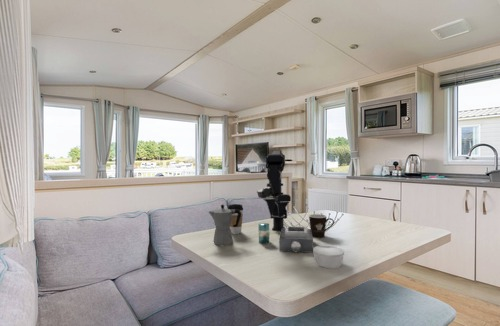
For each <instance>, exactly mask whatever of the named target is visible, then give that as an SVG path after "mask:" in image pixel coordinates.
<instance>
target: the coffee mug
mask: <svg viewBox="0 0 500 326" xmlns="http://www.w3.org/2000/svg"><path fill="white" fill-rule="evenodd" d="M308 220H309V227H310V229H311V231H312V237H313V238H319V239H321V238H325V233H326V231H327V230H329V229H330V228H331V227H333V225H334V224H335V221H334V219H332V218H330V217H329V218H327V215H326V214H325V215H324V214H321V213H320V214H319V213H318V214H317V213H316V214H309V215H308ZM329 220H331V221H332V223H331V225H329V226H328V227H326V225H327V223H328V221H329Z"/></svg>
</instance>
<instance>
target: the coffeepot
mask: <svg viewBox="0 0 500 326" xmlns="http://www.w3.org/2000/svg"><path fill="white" fill-rule="evenodd" d="M220 207H221V208H217V209H215V210H211V211H208V214H209V215H210V216H211V217H212V219H213V222H214V223H213V224H214V226H215V229H214V236H213V241H212V242H214V243H215V244H217V245H216V246H220V245H224V246H229V245H232V244H233V242H234V241H233V234H232V233H231V229H230V225H231V219H232V214H235V213H237V214H238V215H237V220H236V224H235V225H233V227H237V226H238V223H239V220H240V217H241V212H240V211H239V210H238V209H235V210H230V209H228V208H225V204H221V205H220ZM214 243H213V244H214ZM231 243H232V244H231ZM215 244H214V245H215ZM228 244H229V245H228Z"/></svg>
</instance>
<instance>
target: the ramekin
mask: <svg viewBox="0 0 500 326" xmlns="http://www.w3.org/2000/svg"><path fill="white" fill-rule="evenodd" d="M312 253H313V256H314V262H315V264H316V265H317V266H318V267H321V268H325V269H336V268H337V269H339V268H340V267H341V266H342V265H343V260H344V255H345V251H344V250H343V249H342V248H340V247H338V246H334V245H328V244H326V245H317V246H313V252H312Z"/></svg>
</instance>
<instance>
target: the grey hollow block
mask: <svg viewBox="0 0 500 326" xmlns="http://www.w3.org/2000/svg"><path fill="white" fill-rule="evenodd" d="M307 227H308V226H295V225H294V226H292V225H290V226H289V225H286V226H285V228H284V229H283V228H282V229H281V230H280V234H279V238H278V240H279V244H278V245H279V246H278V247H279V252H295V253H298V252H299V253H313V248H314V239H313V238H314V237H312V231H311V228H310V229H308V228H307Z"/></svg>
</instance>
